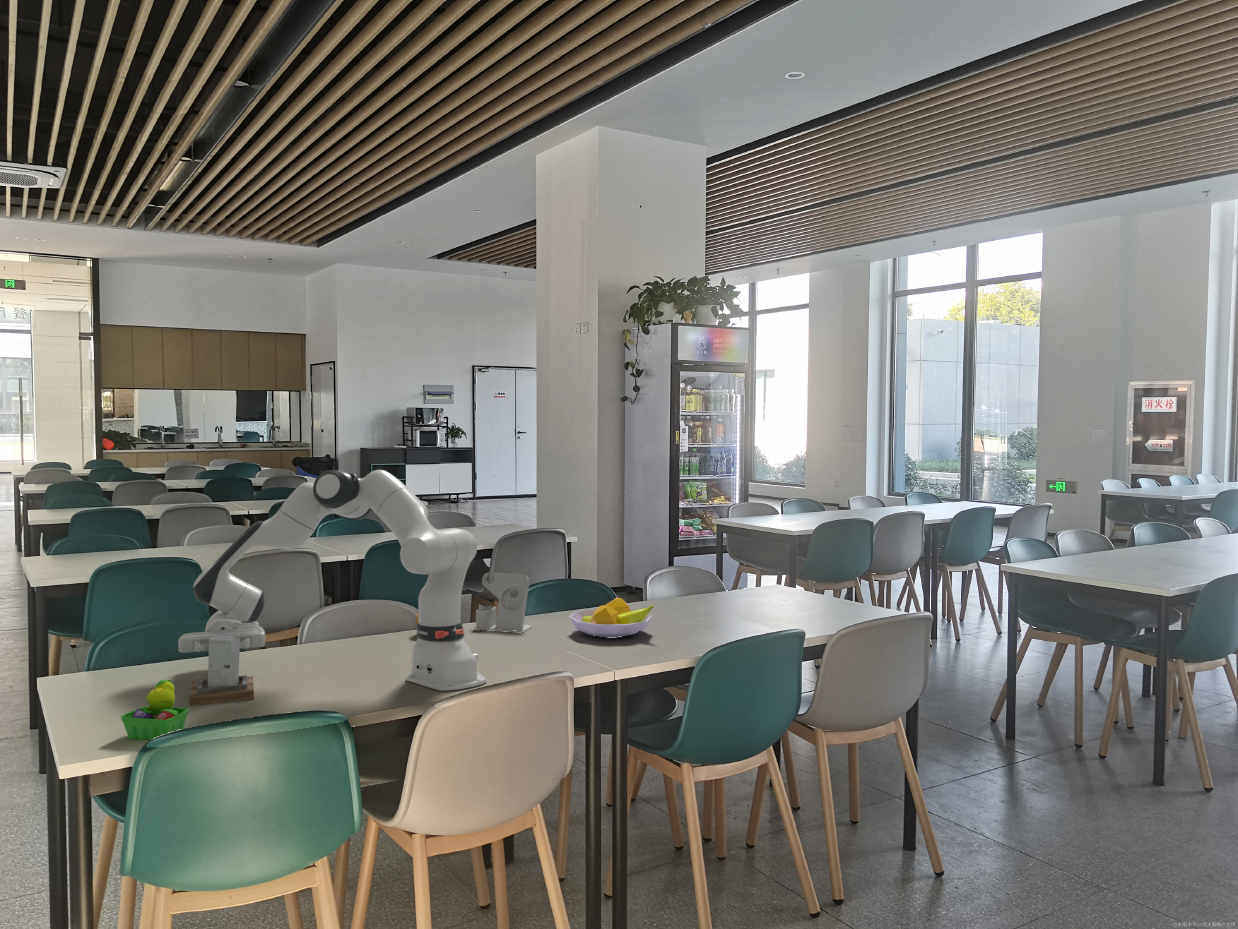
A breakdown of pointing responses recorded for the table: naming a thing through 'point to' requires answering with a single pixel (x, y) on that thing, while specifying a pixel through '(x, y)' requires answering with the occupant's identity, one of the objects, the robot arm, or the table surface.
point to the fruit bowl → (612, 619)
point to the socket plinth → (221, 692)
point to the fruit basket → (155, 714)
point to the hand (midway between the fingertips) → (222, 647)
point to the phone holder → (504, 603)
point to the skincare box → (223, 661)
